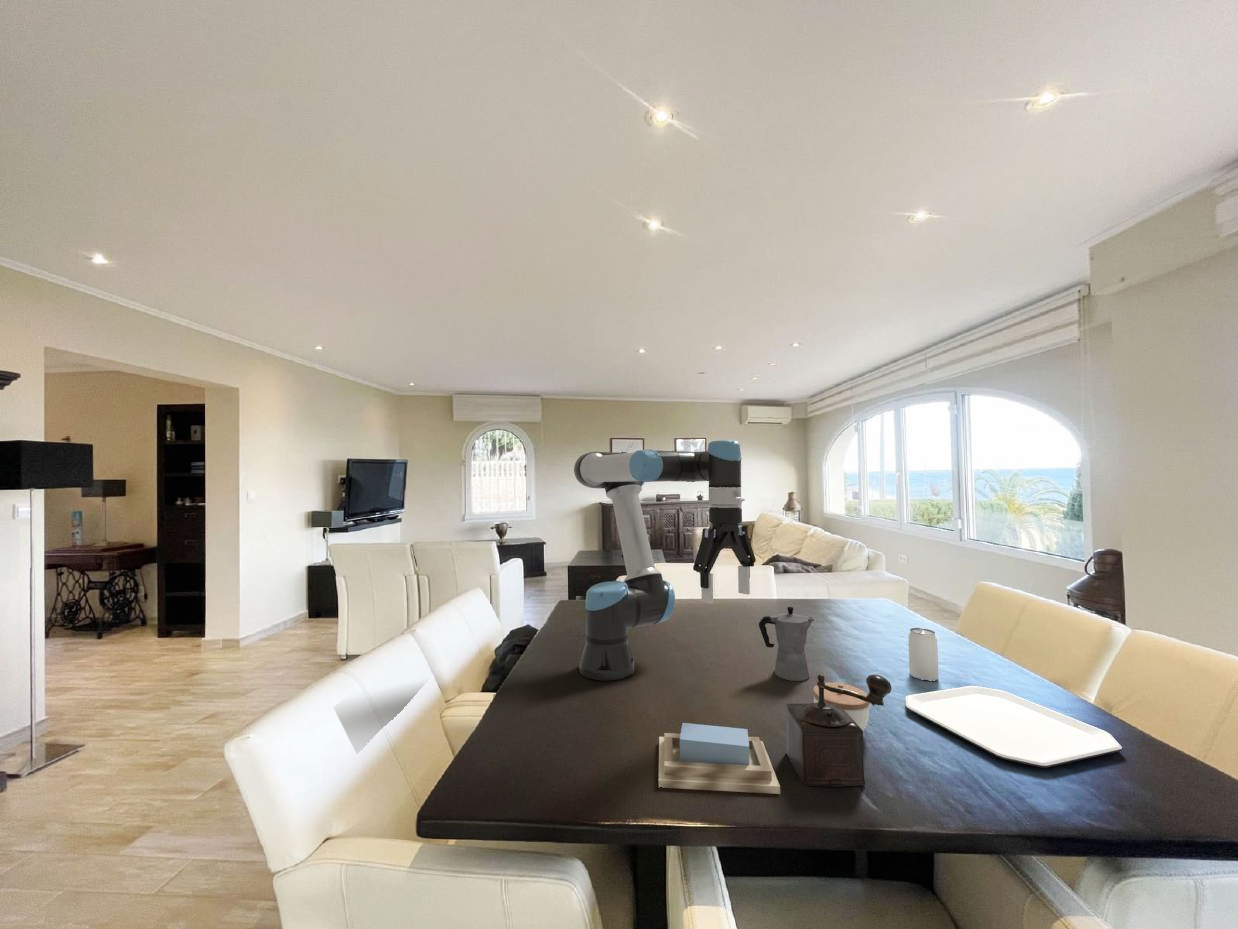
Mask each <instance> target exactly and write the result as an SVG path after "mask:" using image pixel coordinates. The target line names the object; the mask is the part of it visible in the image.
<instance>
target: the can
mask: <svg viewBox="0 0 1238 929" xmlns="http://www.w3.org/2000/svg"><path fill="white" fill-rule="evenodd" d="M907 637H908V664H909V665H908V667H909V669H908V670H909V674H910V676H911V675H912V676H913V677H912V676H911V677H912V678H914V677H915V679H916V678H919V679H923V680H936V681H938V679H939V654H938V653H939V651H938V650H939V648H938V638H937V636H936V632H935V631H934V630H932V629H928V628H923V627H911V628H910V629H909V633H908V636H907ZM919 679H918V680H919ZM923 680H922V681H923Z"/></svg>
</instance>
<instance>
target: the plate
mask: <svg viewBox="0 0 1238 929" xmlns="http://www.w3.org/2000/svg"><path fill="white" fill-rule="evenodd" d="M904 700H905V708H906V709H907V710H908V711H911V712H912V713H914V714H916V715H917V716H919V717H922V718H924V719H925V720H927V721H929V722H930V723H933V724H935V725H936V726H938V727H940V728H942V729H944V730H946V731H948V732H950V733H951V734H953V735H955V736H958V737H959V738H961V739H962V740H965V741H966V742H969V743H970V744H972V745H974V746H976V747H978V748H980V749H982V750H983V751H985V752H988V753H989V754H991V755H992V756H995V757H996V758H999V759H1002V760H1006V761H1011V762H1015V763H1019V764H1024V765H1029V766H1034V767H1038V768H1045V769H1047V768H1051V767H1055V766H1060V765H1063V764H1068V763H1069V764H1070V763H1073V762H1074V763H1075V762H1078V761H1082V760H1086V759H1092V758H1095V757H1099V756H1104V755H1109V754H1114V753H1118V752H1121V751H1122V750H1123V747H1122V745H1121V744H1120V743H1119V742H1118V741H1117V740H1116V739H1115V738H1114V737H1113V735H1112V734H1111V733H1109V732H1108V731H1106V730H1103V729H1100V728H1099V727H1096V726H1093V725H1091V724H1088V723H1086V722H1083V721H1081V720H1078V719H1076V718H1073V717H1071V716H1068V715H1066V714H1063V713H1061V712H1059V711H1055V710H1053V709H1051V708H1048V707H1045V706H1043V705H1040V704H1038V703H1035V702H1032V701H1030V700H1028V699H1026V698H1023V697H1020V696H1018V695H1015V694H1013V693H1011V692H1008V691H1005V690H1003V689H996V688H990V687H984V686H979V685H967V686H961V687H954V688H947V689H941V690H934V691H928V692H922V693H920V692H919V693H915V694H908V695H906V696H905V697H904Z"/></svg>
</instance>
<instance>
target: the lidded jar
mask: <svg viewBox="0 0 1238 929" xmlns="http://www.w3.org/2000/svg"><path fill="white" fill-rule="evenodd" d="M824 683H825V685H827V686H830V687H835V688H840V689H845V690H849V691H853V692H856V693H858V694H861V695H863V696H865V697H866V696H867V695H868V694H869V693H867V692H865V691H864V690H862V689H860V688H858V687H856V686H852V685H850V684H846V683H841V682H824ZM812 694H813V703H817V702H818V701H819V687H818V686H817V684H816V685H814V686H813V687H812ZM824 702H825V703H826V704H838V705H839V706H840V707H841V708H842V709H843V710H844V711H845V712H846V713H847V714H848V715H849V716H850V717H851V718H852V719H853V720H854V721H855V722H856V724H857V725H858V726H859V727H860V728H861V729H862V731H864V730H865V728H866V727H867V725H868V722H869V718H870V704H871V703H870V702H865V701H863V700H861V699H858V698H856V697H852V696H849V695H845V694H840V693H835V692H831V691H828V690H826V689H824Z"/></svg>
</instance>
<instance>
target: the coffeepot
mask: <svg viewBox="0 0 1238 929" xmlns="http://www.w3.org/2000/svg"><path fill="white" fill-rule="evenodd" d="M786 609H787V612H785V613H778V614H773V615H771V616H770V615H769V616H768V615H767V616H766V615H765V616H763V617H762V618H761V619H760V621H759V622H758V628H759V630H760V633H761V636H762V639H763V642H764V644H765V647H766V648H770V649H771V648H774V647H775V643H770V636H769V634H768V629H767V627H766V625H768V624H771V625H774V628H775V634H776V641H777V642H776V643H777V646H778V647H777V652H776V653H777V654H776V658H775V665H774V675H775V676H777V677H778V678H781V679H783V680H786V681H790V682H791V681H792V682H803V681H807V680H808V679H809V678H810V674H809V668H808V662H807V657H806V652H805V646H806V644H807V636H808V630H809V628H810V626H811V625H812V623H813V622H814V621H815V619H814V618H813V617H810V616H807V615H800V614H796V613H793V612H794V607H792V606H788V607H786Z"/></svg>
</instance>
